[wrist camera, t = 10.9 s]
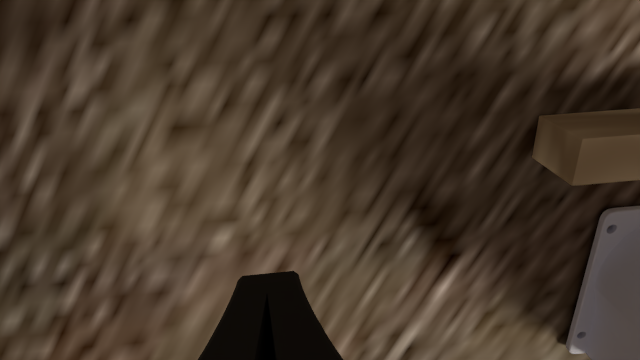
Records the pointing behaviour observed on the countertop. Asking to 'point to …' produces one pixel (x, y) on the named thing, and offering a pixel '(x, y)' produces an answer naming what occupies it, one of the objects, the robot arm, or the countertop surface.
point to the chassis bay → (590, 146)
